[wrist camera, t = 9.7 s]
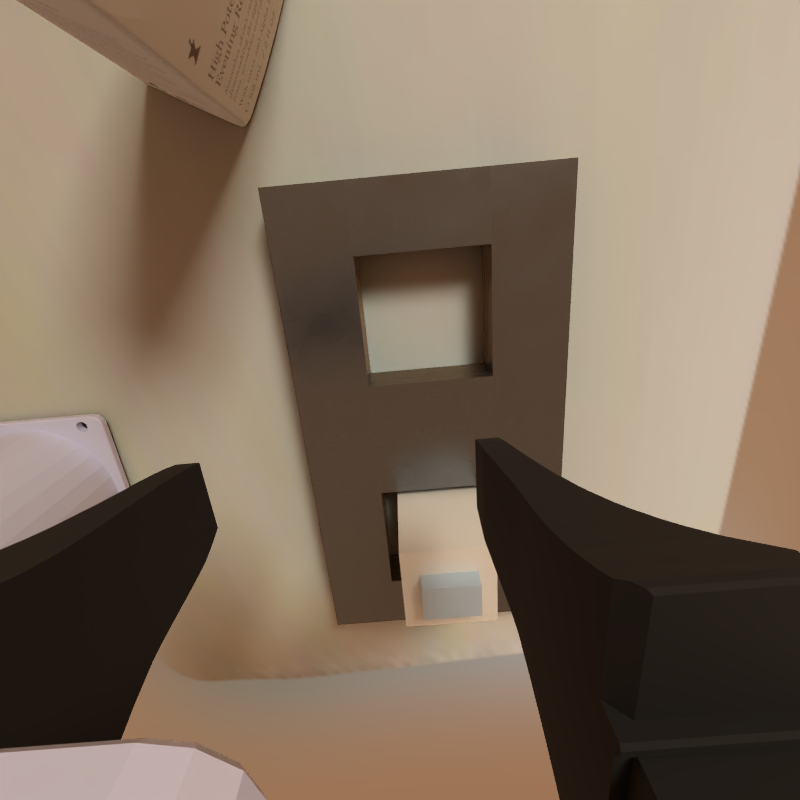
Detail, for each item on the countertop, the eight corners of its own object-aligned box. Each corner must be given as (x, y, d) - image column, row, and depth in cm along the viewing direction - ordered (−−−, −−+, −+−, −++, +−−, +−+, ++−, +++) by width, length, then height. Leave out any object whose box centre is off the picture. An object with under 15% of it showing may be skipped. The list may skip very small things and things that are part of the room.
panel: (341, 596, 26) (338, 624, 24) (271, 192, 18) (257, 187, 16) (542, 580, 26) (554, 607, 24) (559, 165, 18) (578, 157, 16)
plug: (403, 537, 25) (407, 642, 18) (397, 476, 23) (399, 567, 17) (473, 532, 25) (501, 635, 18) (471, 470, 23) (501, 559, 17)
